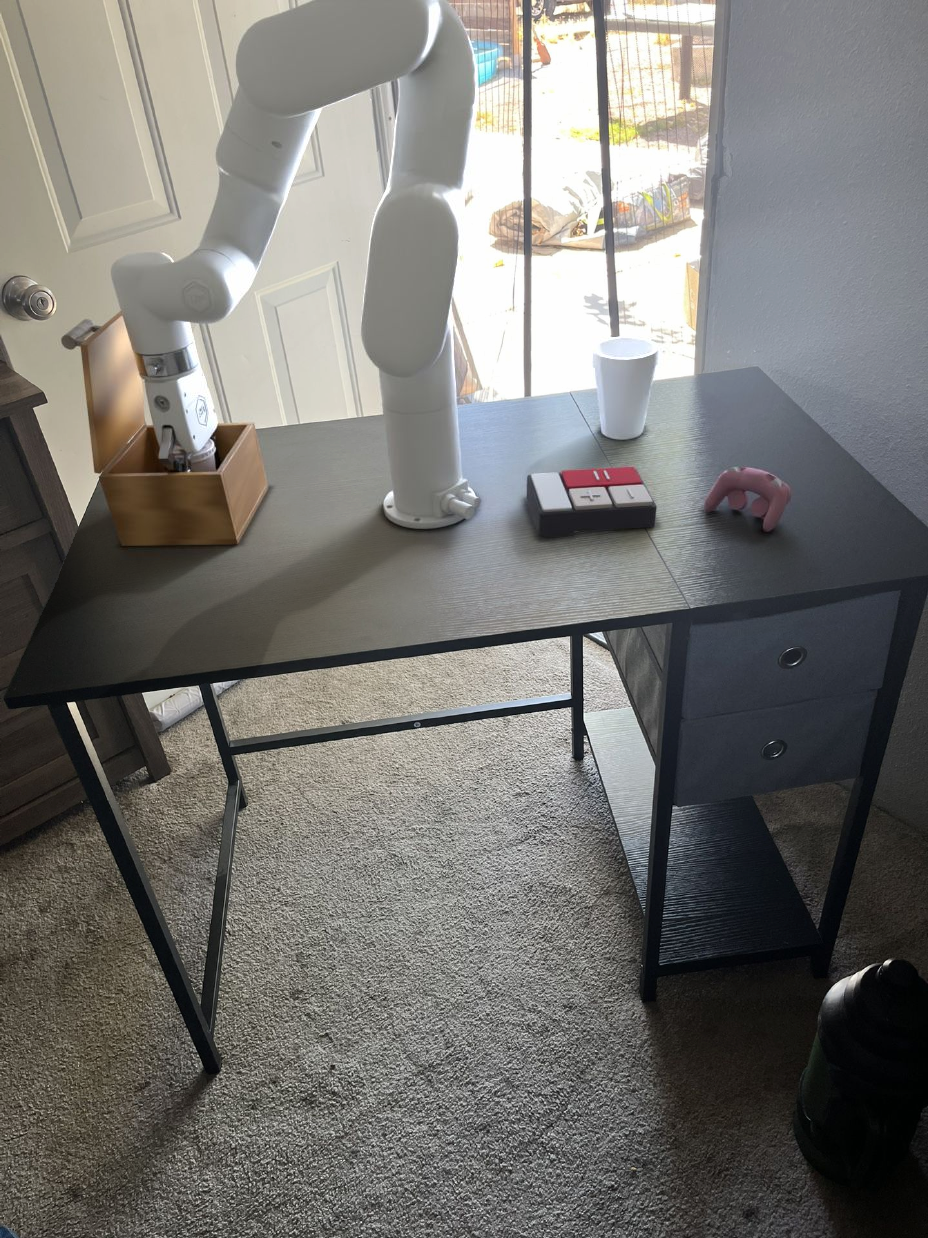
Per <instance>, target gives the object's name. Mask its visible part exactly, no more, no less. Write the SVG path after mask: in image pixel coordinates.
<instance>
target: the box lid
mask: <svg viewBox="0 0 928 1238" xmlns="http://www.w3.org/2000/svg"><path fill="white" fill-rule="evenodd" d="M60 341H61V342H60V343H61V345H62V347H64V349H67V350H70V351H71V350H74V349H75V348H76V347H80V355H81V363H82V372H83V381H84V383H83V384H84V393H85V399H86V400H85V401H86V408H87V409H86V410H87V419H88V427H89V437H90V445H91V453H92V463H93V464H92V465H93V472H94V474H98V475H101V474H102V472H103V471H104V470H105V469H106V468H107V467H108V466H109V464H110V463H111V462H112V461H113V460H114V459H115V458H116V456H117V455H118V454H119V453H120V452H121V451H122V449H123V448H124V447H125V446H126V445H127V444H128V443H129V441H130V440H131V439H132V438H133V437H134V436H135V435H136V433H137V432H138V431H139V430H140V429H141V428H142V427H143V426H144V425H145V423H146V417H145V416H146V415H145V401H144V400H145V399H144V389H143V387H144V386H143V385H144V384H143V379H142V378H141V377H140V375H139V371H138V368H137V364H136V361H135V358H134V354H133V351H132V347H131V344H130V340H129V337H128V333H127V330H126V326H125V323H124V319H123V316H122V313H121V310H120V311H119V312H117V313H116V314H115V315H113V317H111V318H110V319H109V320H108V321H106V322H105V323H104V324H103V325H96V323H95V322H94V321H92V320H91V319H90V318H89V319H88V318H84V319H83V320H82V321H80V322H78V324H76V325H75V326H73V328H71V329H70V330H68V331H67V332H66V333H65V334H64V335H63V336H61V339H60Z"/></svg>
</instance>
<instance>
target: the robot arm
mask: <svg viewBox="0 0 928 1238" xmlns="http://www.w3.org/2000/svg"><path fill="white" fill-rule="evenodd" d="M235 72H236V73H235V74H236V78H237V82H238V86H237V90H236V93H235V95H234V98H233V101H232V104H231V106H230V110H229V111H228V115H227V118H226V121H225V123H224V126H223V129H222V132H221V135H220V137H219V140H218V142H217V144H216V145H217V146H216V149H215V156H214V157H215V165H216V168H217V171H218V178H219V179H218V180H219V181H218V188H217V193H216V198H215V200H214V203H213V207H212V210H211V213H210V215H209V218H208V221H207V224H206V225H205V229H204V232H203V234H202V237H201V240H200V241H199V244H198V246H196V247H195V248H194V249H193V250H192V251H191V252H190V253H189V254H188V255H186V256H184V257H183V258H181V259H179V260H176V261H174V260H173V258H172V257H171V256H170V255H168V254H166V253H165V252H160V251H142V252H135V253H132V254H127V255H124V256H122V257H120V258H118V259H116V260H115V261H114V262H113V263H112V265H111V267H110V276H111V280H112V284H113V288H114V291H115V296H116V299H117V302H118V305H119V309H120V311H121V313H122V316H123V319H124V323H125V326H126V330H127V333H128V337H129V340H130V344H131V347H132V351H133V354H134V358H135V361H136V364H137V368H138V371H139V375H140V377H141V378H142V380H144V387H145V394H146V398H147V399H146V400H147V405H148V408H149V409H148V410H149V414H150V418H151V422H152V425H153V427H154V430H155V434H156V438H157V441H158V444H159V446H160V450H159V460H160V461H161V463H162V464H163V466H164V468H165V470H166V471H167V473H176V472H195V471H191V453H192V454H197V453H198V452H199V451H200V450H201V449H202V448H203V446H204V445H205V444H206V442H207V441H208V440H209V439H211V440H215V432H214V431H215V429H216V427H217V424H218V423H219V422H218V417H217V414H216V409H215V406H214V402H213V398H212V396H211V392H210V389H209V385H208V383H207V380H206V377H205V374H204V372H203V369H202V367H201V363H200V358H199V355H198V350H197V346H196V342H195V339H194V338H195V337H194V334H193V331H192V325H191V324H192V323H193V324H200V325H201V324H202V325H209V324H215V323H219V322H220V321H223V320H225V319H226V318H227V317H228V316H230V315H231V313H232V312H233V311H234V309H235V308H236V306H237V305H238V304H239V303H240V301H241V299H242V298H243V297H244V296H245V294H246V293H247V292H248V291H249V289H250V288H251V286H252V284H253V282H254V280H255V277H256V275H257V273H258V270H259V268H260V266H261V263H262V260H263V258H264V255H265V254H266V251H267V248H268V246H269V243H270V241H271V239H272V236H273V233H274V231H275V228H276V225H277V222H278V219H279V217H280V213H281V211H282V209H283V207H284V205H285V204H286V200H287V198H288V194H289V191H290V189H291V186H292V183H293V181H294V178H295V176H296V173H297V172H298V171H297V170H298V168H299V166H300V163H301V160H302V158H303V155H304V152H305V150H306V147H307V145H308V143H309V140H310V137H311V136H312V132H313V130H314V128H315V126H316V124H317V121H318V119H319V116H320V115H321V112H322V109H323V108H326V107H328V106H331V105H334V104H337V103H339V102H342V101H344V100H347V99H349V98H352V97H355V96H358V95H359V94H362V93H364V92H367V91H370V90H373V89H375V88H377V87H380V86H382V85H385V84H388V83H391V82H394V81H396V80H397V86H398V95H397V97H398V98H397V109H396V114H395V122H394V133H393V144H392V145H393V146H392V154H391V161H390V168H389V174H388V180H387V185H386V189H385V191H384V193H383V195H382V198H381V200H380V202H379V203H378V206H377V208H376V211H375V213H374V216H373V220H372V224H371V231H370V237H369V245H368V253H367V264H366V273H365V280H364V281H365V282H364V289H363V290H364V292H363V299H362V300H363V301H362V310H361V319H360V339H361V344H362V346H363V350H364V352H365V353H366V356H367V357H368V359H369V360H370V362H371V363H372V364H373V366H375V367H376V368H377V370H378V380H379V391H380V400H381V407H382V416H383V424H384V432H385V439H386V448H387V456H388V461H389V462H388V463H389V471H390V480H391V487H392V490H391V491H389V492H388V493H387V494H386V495H385V497H384V499H383V503H382V506H383V513H384V515H385V517H386V518H387V519H388V520H389V521H391V522H392V523H394V524H395V525H398V526H401V527H404V528H408V529H416V530H429V529H430V530H433V529H439V528H445V527H447V526H451V525H454V524H456V523H458V522H461V521H462V520H464V519H465V520H467V521H470V520H472V519H473V518H474V516H475V514H476V508H478V507H480V505H481V501H482V500H481V498H480V497H479V496H476V494H475V491H474V490H473V489H472V488H471V487H470V486H469V482H468V479H466V478H464V477H463V467H462V454H461V442H460V425H459V414H458V402H457V383H456V370H455V356H454V355H455V352H454V350H455V349H454V326H453V325H454V324H453V322H454V321H453V310H452V309H453V308H452V303H453V302H452V301H453V296H454V289H455V285H456V284H455V283H456V277H457V272H458V266H459V261H460V260H459V259H460V253H461V247H462V242H463V241H462V240H463V236H464V227H465V200H466V193H467V191H466V190H467V184H468V178H469V177H468V176H469V171H470V165H471V158H472V150H473V149H472V148H473V141H474V134H475V126H476V120H477V111H478V110H477V109H478V98H479V95H478V94H479V80H478V67H477V61H476V56H475V52H474V47H473V44H472V42H471V38H470V36H469V34H468V31H467V29H466V27H465V25H464V22H463V21H462V19H461V18H460V16H459V14H458V13H457V11H456V10H455V8H454V7H453V5H451V3H450V2H449V1H448V0H310V1H307V2H305V3H303V4H300V5H298V6H295V7H293V8H290V9H288V10H285V11H282V12H279V13H277V14H276V13H275V14H273V15H270V16H267V17H264V18H261V19H259V20H258V21H255V22H254V23H253V24H252V25H251V26H250V27H249V28H248V29H246V31H245V33H244V34H243V35H242V37H241V39H240V41H239V43H238V46H237V50H236V55H235ZM213 442H214V446H215V448H216V451H215V453H214V458H215V467H216V469H219V467H220V466H221V460H220V456H219V452H218V448H217V444H216V441H213ZM175 446H182V448H183V449H182V450H173V449H174V447H175ZM175 456H183V464H182V463H181V462H180V461H178V460H175Z"/></svg>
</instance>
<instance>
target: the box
mask: <svg viewBox="0 0 928 1238" xmlns="http://www.w3.org/2000/svg"><path fill="white" fill-rule="evenodd" d="M214 432H215V440H212V441H216V444H217V448H218V452H219V456H220V460H221V466H220V467H219V469H216V472H176V473H167V471H166V470H165V468H164V466H163V464H162V463H161V461H160V460H159V450H160V446H159V444H158V441H157V438H156V434H155V430H154V427H153V424H147V425H146V424H143V426H142V427H141V428H140V429H139V430H138V431H137V432H136V434H135V435H134V436H133V437H132V438H131V439H130V440H129V442H128V443H127V444H126V445H125V446H124V447H123V448H122V450H121V451H120V452H119V453H118V454H117V455H116V456H115V458H114V459H113V460H112V461H111V462H110V463H109V464H108V466H107V467H106V468H105V469H104V470H103V471H102V472H101V474H99V475H98V480H99V482H100V485H101V488H102V491H103V494H104V495H103V496H104V498H105V500H106V504H107V507H108V510H109V512H110V515H111V518H112V521H113V525H114V527H115V530H116V533H117V537H118V540H119V542H120V545H121V546H122V547H134V546H135V547H137V546H139V547H140V546H141V547H142V546H212V545H213V546H217V545H220V546H221V545H239V543H240V541H241V539H242V538H243V536H244V534H245V532H246V530H247V528H248V526H249V525H250V523H251V521H252V519H253V517H254V516H255V514H256V512H257V510H258V508H259V506H260V504H261V503H262V501H263V499H264V497H265V495H266V494H267V491H268V489H269V485H268V480H267V475H266V471H265V465H264V463H263V457H262V453H261V447H260V444H259V438H258V435H257V430H256V425H255V422H254V421H252V422H251V421H250V422H224V423H223V422H220V423H219V422H218V424H217V427H216V429H215V431H214Z"/></svg>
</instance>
